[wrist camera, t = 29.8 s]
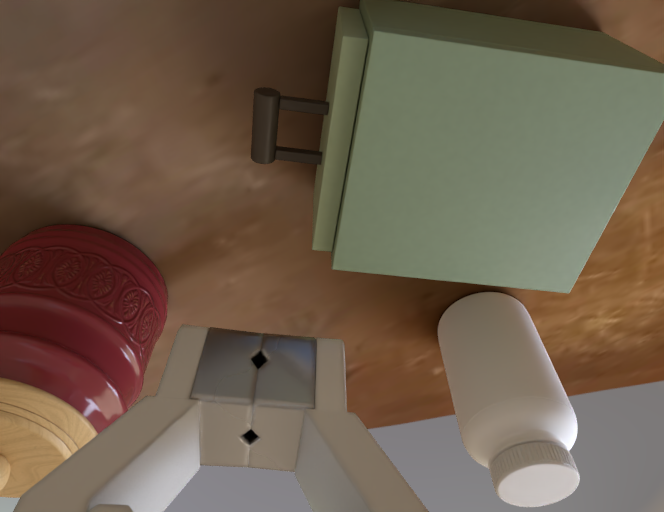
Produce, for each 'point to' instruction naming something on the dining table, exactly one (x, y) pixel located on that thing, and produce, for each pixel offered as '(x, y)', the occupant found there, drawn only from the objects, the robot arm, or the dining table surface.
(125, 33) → the dining table surface
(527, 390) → the pill bottle
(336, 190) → the drawer
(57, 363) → the kitchen canister
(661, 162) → the dining table surface
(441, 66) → the cabinet
